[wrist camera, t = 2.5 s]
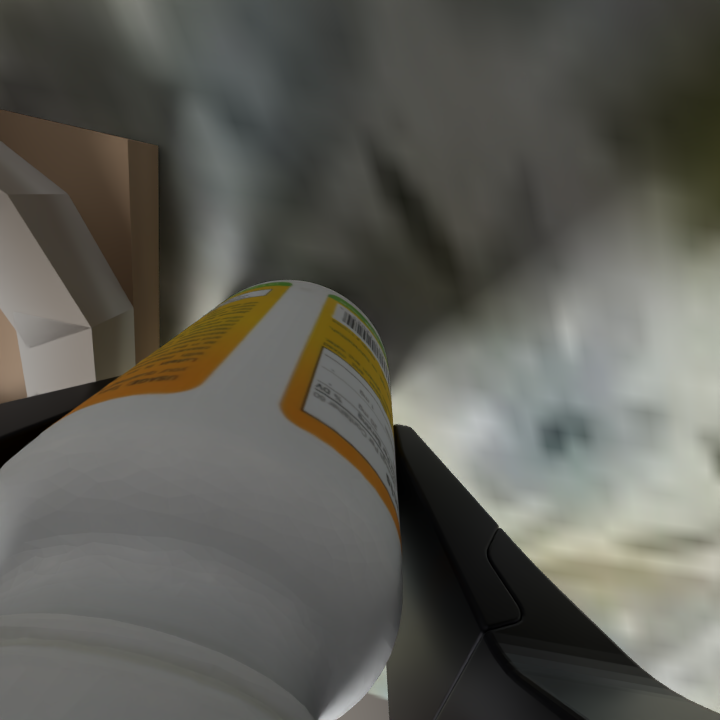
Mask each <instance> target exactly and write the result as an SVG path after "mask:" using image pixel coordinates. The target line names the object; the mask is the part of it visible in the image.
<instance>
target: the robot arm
mask: <svg viewBox="0 0 720 720" xmlns="http://www.w3.org/2000/svg"><path fill="white" fill-rule="evenodd" d="M118 377H120V376H116V377H112V378H108V379H104V380H99V381H95V382H91V383H86V384H82V385H78V386H74V387H69V388H65V389H61V390H56V391H52V392H48V393H44V394H39V395H35V396H31V397H27V398H22V399H18V400H14V401H9V402H5V403H1V404H0V469H1V467H2V466H3V465H4V464H5V463H6V462H7V461H9V460H10V459H11V458H12V457H13V456H14V455H16V454H17V453H18V452H19V451H20V450H22V449H23V448H24V447H25V446H27V445H28V444H29V443H30V442H32V441H33V440H34V439H35V438H36V437H38V436H39V435H40V434H41V433H42V432H43V431H45V430H46V429H47V428H49V427H50V426H51V425H53V424H54V423H55V422H57V421H58V420H60V419H61V418H62V417H64V416H65V415H66V414H68V413H69V412H71V411H72V410H73V409H75V408H76V407H78V406H79V405H80V404H82V403H83V402H85V401H86V400H87V399H89V398H90V397H92V396H93V395H94V394H96V393H97V392H99V391H100V390H102V389H103V388H104V387H106V386H107V385H108V384H109V383H111V382H112V381H114V380H115V379H117V378H118ZM393 430H394V445H395V462H396V478H397V492H398V505H399V520H400V534H401V544H402V576H403V604H402V613H401V620H400V627H399V630H398V634H397V638H396V641H395V644H394V647H393V650H392V653H391V655H390V657H389V659H388V661H387V663H386V666H387V685H388V704H389V720H720V714H719V713H717V712H715V711H712V710H710V709H708V708H706V707H703V706H701V705H699V704H697V703H695V702H693V701H690V700H688V699H686V698H685V697H683V696H681V695H679V694H678V693H676V692H674V691H672V690H671V689H669V688H668V687H666V686H665V685H663V684H662V683H660V682H659V681H657V680H656V679H655V678H653V677H652V676H651V675H650V674H648V673H647V672H646V671H644V670H643V669H642V668H641V667H640V666H639V665H637V664H636V663H635V662H634V661H633V660H632V659H631V658H630V657H629V656H628V655H627V654H626V653H624V652H623V651H622V650H621V649H620V648H619V647H618V646H617V645H616V644H615V643H614V642H613V641H612V640H611V639H610V638H609V637H608V636H607V635H606V634H605V633H604V632H603V631H602V630H601V629H600V628H599V627H598V626H597V625H596V624H595V623H594V622H592V621H591V620H590V619H589V618H588V617H587V616H586V615H585V614H584V613H583V612H582V611H581V610H580V609H579V608H578V607H577V606H576V605H575V604H574V603H573V602H572V601H571V600H570V599H569V598H568V597H567V596H566V595H565V594H564V593H563V592H561V591H560V590H559V589H558V588H557V587H556V586H555V585H554V584H553V583H552V582H551V581H550V580H549V579H548V578H547V577H546V576H545V575H544V574H543V573H542V572H541V571H540V570H539V569H538V568H537V567H536V566H535V565H534V563H533V562H532V561H531V560H530V559H529V558H528V557H527V556H526V555H525V554H524V553H523V552H522V551H521V549H520V548H519V547H518V546H517V545H516V544H515V543H514V542H513V541H512V540H511V539H510V537H509V536H508V535H507V534H506V533H505V532H504V531H503V530H502V529H501V528H499V526H498V524H497V523H496V522H495V521H494V520H493V519H492V517H491V516H490V515H489V514H488V513H487V512H486V511H485V510H484V508H483V507H482V506H481V505H480V504H479V503H478V502H477V501H476V500H475V498H474V497H473V496H472V495H471V494H470V493H469V492H468V491H467V489H466V488H465V487H464V486H463V485H462V484H461V483H460V482H459V480H458V479H457V478H456V477H455V476H454V475H453V474H452V473H451V471H450V470H449V469H448V468H447V467H446V466H445V465H444V464H443V463H442V461H441V460H440V459H439V458H438V457H437V456H436V455H435V454H434V452H433V451H432V450H431V449H430V448H429V447H428V446H427V445H426V443H425V442H424V441H423V440H422V439H421V438H420V437H419V436H418V435H417V433H416V432H415V431H414V430H413V429H412V428H411V427H408V426H403V425H398V424H395V425H394V426H393ZM498 528H499V529H498Z"/></svg>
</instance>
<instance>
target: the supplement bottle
mask: <svg viewBox="0 0 720 720" xmlns="http://www.w3.org/2000/svg"><path fill="white" fill-rule="evenodd" d="M402 604H403V576H402V544H401V534H400V520H399V505H398V492H397V478H396V462H395V445H394V430H393V416H392V402H391V386H390V376H389V368H388V362H387V356H386V353H385V349H384V346H383V344H382V341H381V338H380V336H379V334H378V332H377V331H376V329H375V327H374V326H373V324H372V323H371V321H370V320H369V319H368V318H367V316H366V315H365V314H364V313H363V312H362V311H361V310H360V309H359V308H358V307H357V306H356V305H355V304H353V303H352V302H351V301H349V300H348V299H347V298H345V297H344V296H342V295H340V294H339V293H337V292H335V291H333V290H331V289H329V288H326V287H324V286H321V285H318V284H314V283H311V282H305V281H298V280H277V281H269V282H264V283H260V284H257V285H253V286H251V287H248V288H246V289H244V290H242V291H240V292H238V293H236V294H235V295H233V296H231V297H230V298H228V299H227V300H225V301H224V302H222V303H221V304H219V305H218V306H217V307H215V308H214V309H213V310H211V311H210V312H209V313H207V314H206V315H204V316H203V317H202V318H201V319H199V320H198V321H197V322H195V323H194V324H192V325H191V326H189V327H188V328H187V329H185V330H184V331H183V332H181V333H180V334H179V335H177V336H176V337H174V338H173V339H172V340H170V341H169V342H167V343H166V344H165V345H163V346H162V347H160V348H159V349H157V350H156V351H154V352H153V353H152V354H150V355H149V356H148V357H146V358H145V359H143V360H141V361H140V362H139V363H138V364H137V365H135V366H134V367H133V368H131V369H130V370H128V371H127V372H126V373H124V374H123V375H121V376H120V377H118V378H117V379H115V380H114V381H112V382H111V383H109V384H108V385H107V386H106V387H104V388H103V389H102V390H100V391H99V392H97V393H96V394H94V395H93V396H92V397H90V398H89V399H87V400H86V401H85V402H83V403H82V404H80V405H79V406H78V407H76V408H75V409H73V410H72V411H71V412H69V413H68V414H66V415H65V416H64V417H62V418H61V419H60V420H58V421H57V422H55V423H54V424H53V425H51V426H50V427H49V428H47V429H46V430H45V431H43V432H42V433H41V434H40V435H39V436H38V437H36V438H35V439H34V440H33V441H32V442H30V443H29V444H28V445H27V446H25V447H24V448H23V449H22V450H20V451H19V452H18V453H17V454H16V455H14V456H13V457H12V458H11V459H10V460H9V461H7V462H6V463H5V464H4V465H3V466H2V467H1V469H0V720H336V719H338V718H339V717H341V716H342V715H344V714H345V713H346V712H347V711H348V710H349V709H350V708H352V707H353V706H354V705H355V704H356V703H358V702H359V701H360V700H361V699H362V698H363V697H364V695H365V694H366V693H367V692H368V691H369V690H370V688H371V687H372V685H373V684H374V683H375V681H376V680H377V678H378V677H379V676H380V674H381V672H382V671H383V669H384V667H385V665H386V663H387V661H388V659H389V657H390V655H391V653H392V650H393V647H394V644H395V641H396V638H397V634H398V630H399V627H400V620H401V613H402Z"/></svg>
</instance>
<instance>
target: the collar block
mask: <svg viewBox="0 0 720 720" xmlns="http://www.w3.org/2000/svg"><path fill="white" fill-rule="evenodd" d="M159 348H160V340H159V179H158V146H157V145H153V144H149V143H144V142H140V141H136V140H131V139H127V138H123V137H118V136H114V135H110V134H105V133H101V132H97V131H92V130H88V129H84V128H79V127H75V126H71V125H66V124H62V123H58V122H53V121H49V120H45V119H40V118H36V117H32V116H27V115H23V114H19V113H14V112H10V111H6V110H1V109H0V404H1V403H5V402H9V401H14V400H18V399H22V398H27V397H31V396H35V395H39V394H44V393H48V392H52V391H56V390H61V389H65V388H69V387H74V386H78V385H82V384H86V383H91V382H95V381H99V380H104V379H108V378H112V377H116V376H121V375H123V374H124V373H126V372H127V371H128V370H130V369H131V368H133V367H134V366H135V365H137V364H138V363H139V362H140V361H141V360H143V359H145V358H146V357H148V356H149V355H150V354H152V353H153V352H154V351H156V350H157V349H159Z"/></svg>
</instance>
